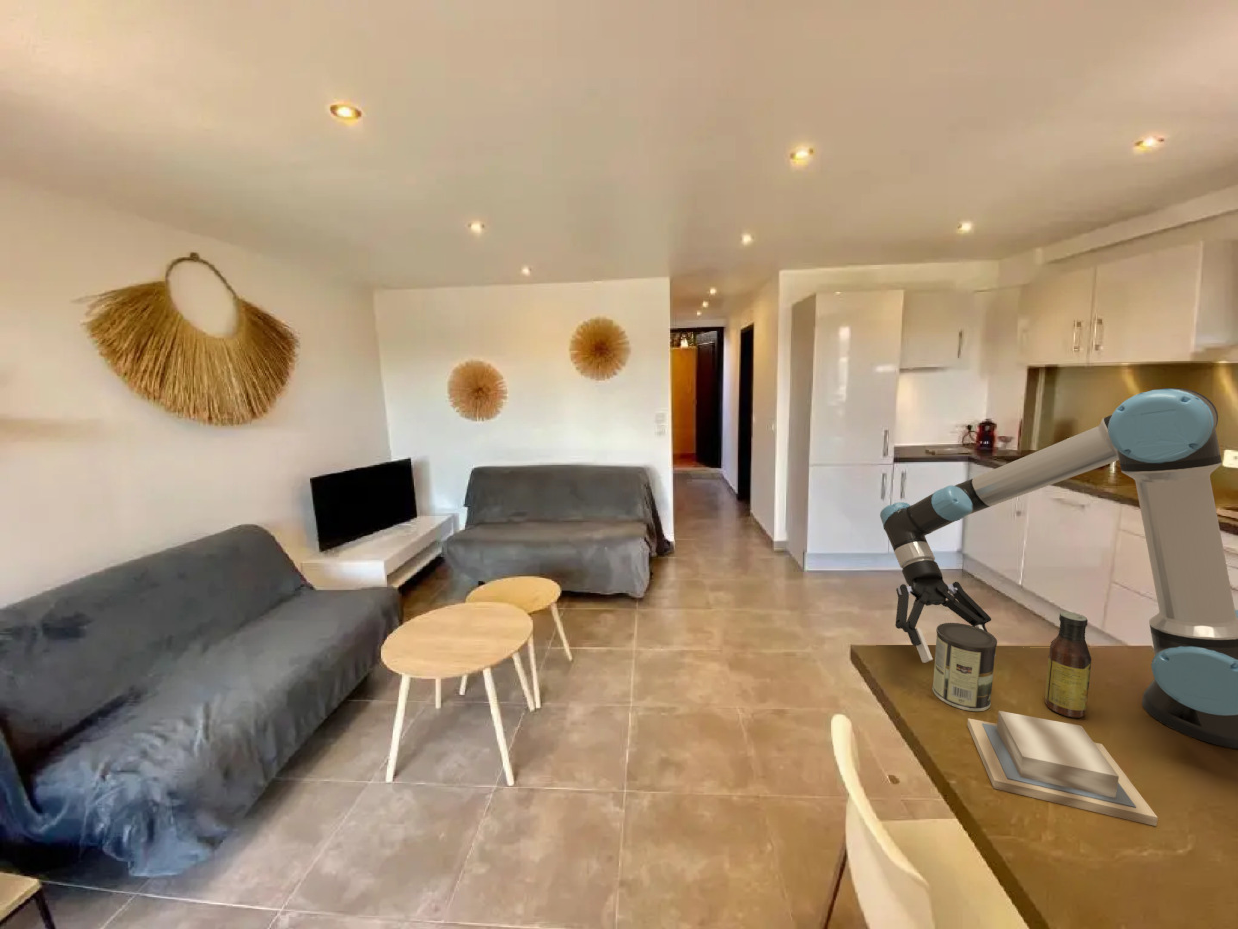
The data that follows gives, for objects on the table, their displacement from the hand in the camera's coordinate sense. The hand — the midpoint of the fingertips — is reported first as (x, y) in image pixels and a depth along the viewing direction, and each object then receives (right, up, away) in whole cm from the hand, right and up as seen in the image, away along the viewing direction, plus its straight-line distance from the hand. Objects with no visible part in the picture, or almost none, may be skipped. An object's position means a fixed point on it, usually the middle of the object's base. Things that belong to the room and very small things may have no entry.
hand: (959, 659), depth 104 cm
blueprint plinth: (+2, -11, -19) cm, 22 cm away
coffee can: (+1, -8, +1) cm, 8 cm away
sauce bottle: (+18, -8, -4) cm, 20 cm away
